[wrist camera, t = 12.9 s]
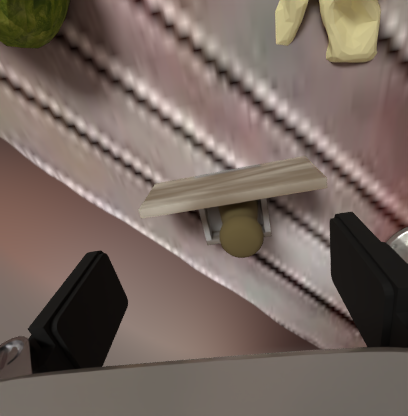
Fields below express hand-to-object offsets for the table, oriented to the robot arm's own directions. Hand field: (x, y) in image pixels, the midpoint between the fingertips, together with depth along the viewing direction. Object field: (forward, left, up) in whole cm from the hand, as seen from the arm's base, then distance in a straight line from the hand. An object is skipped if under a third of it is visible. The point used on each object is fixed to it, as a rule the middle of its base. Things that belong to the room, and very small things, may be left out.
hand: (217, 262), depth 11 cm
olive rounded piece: (-6, +8, -28) cm, 29 cm away
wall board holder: (-6, +9, -28) cm, 30 cm away
